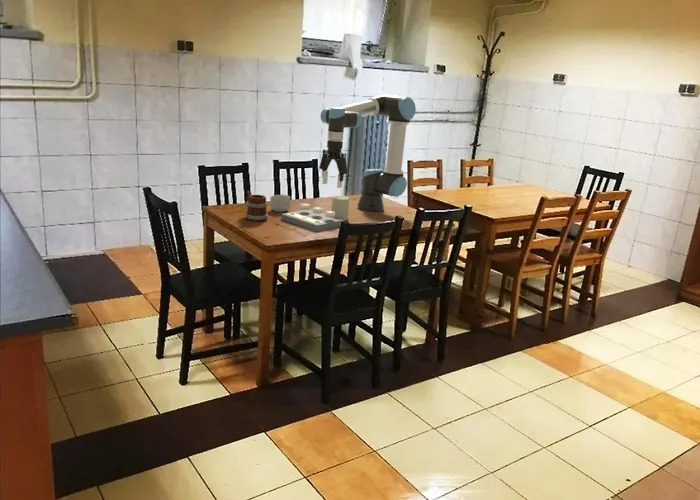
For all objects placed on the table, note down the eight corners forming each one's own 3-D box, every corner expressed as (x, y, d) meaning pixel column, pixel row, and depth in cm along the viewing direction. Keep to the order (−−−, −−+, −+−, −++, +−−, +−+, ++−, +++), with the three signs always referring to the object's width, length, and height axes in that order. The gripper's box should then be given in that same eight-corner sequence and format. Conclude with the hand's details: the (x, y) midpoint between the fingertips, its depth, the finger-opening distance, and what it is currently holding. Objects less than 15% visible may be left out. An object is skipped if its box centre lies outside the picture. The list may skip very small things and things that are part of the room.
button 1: (305, 207, 314) (305, 203, 313) (312, 209, 311) (312, 205, 310) (298, 208, 310) (298, 204, 310) (305, 210, 307) (305, 206, 307)
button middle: (317, 210, 308) (317, 206, 308) (324, 212, 305) (324, 208, 305) (310, 211, 305) (310, 208, 304) (317, 213, 302) (317, 210, 301)
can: (328, 216, 318) (329, 194, 315) (344, 216, 322) (345, 194, 318) (334, 221, 310) (336, 198, 307) (350, 220, 314) (352, 198, 310)
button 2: (329, 214, 303) (330, 210, 302) (337, 216, 300) (337, 212, 299) (323, 215, 299) (323, 211, 299) (330, 217, 296) (330, 213, 295)
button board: (308, 214, 320) (309, 208, 319) (344, 225, 303) (344, 219, 302) (281, 219, 305) (281, 213, 304) (316, 231, 289) (317, 224, 288)
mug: (253, 223, 294) (251, 192, 291) (238, 221, 304) (236, 191, 302) (273, 220, 301) (271, 190, 299) (258, 218, 312) (256, 190, 309)
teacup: (286, 214, 316) (286, 199, 314) (266, 211, 318) (267, 197, 316) (293, 208, 329) (294, 194, 327) (275, 206, 331) (275, 192, 329)
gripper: (313, 137, 292) (311, 182, 299) (346, 143, 279) (343, 190, 285) (324, 136, 298) (321, 181, 304) (357, 143, 284) (353, 189, 291)
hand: (332, 185), depth 295 cm, fingers open, 9 cm apart
